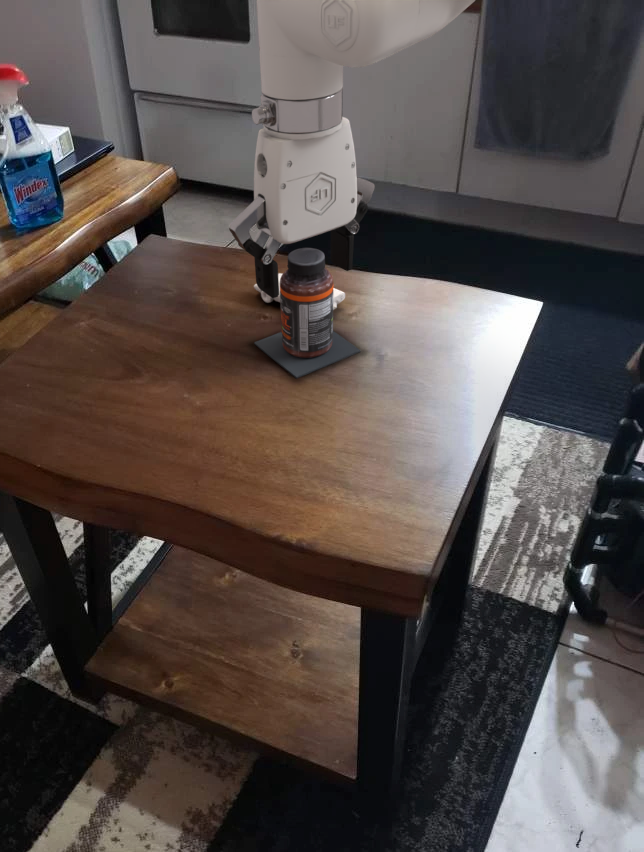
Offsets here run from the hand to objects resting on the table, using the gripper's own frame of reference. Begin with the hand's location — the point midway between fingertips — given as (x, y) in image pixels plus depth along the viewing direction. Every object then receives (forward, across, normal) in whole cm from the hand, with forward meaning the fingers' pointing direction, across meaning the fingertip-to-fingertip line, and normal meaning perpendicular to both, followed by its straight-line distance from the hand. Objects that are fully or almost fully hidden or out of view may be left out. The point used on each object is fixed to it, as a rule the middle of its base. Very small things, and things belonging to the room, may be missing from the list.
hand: (305, 279), depth 82 cm
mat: (+9, 0, 0) cm, 9 cm away
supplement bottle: (+9, 0, 0) cm, 9 cm away
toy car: (+9, +5, +9) cm, 14 cm away
